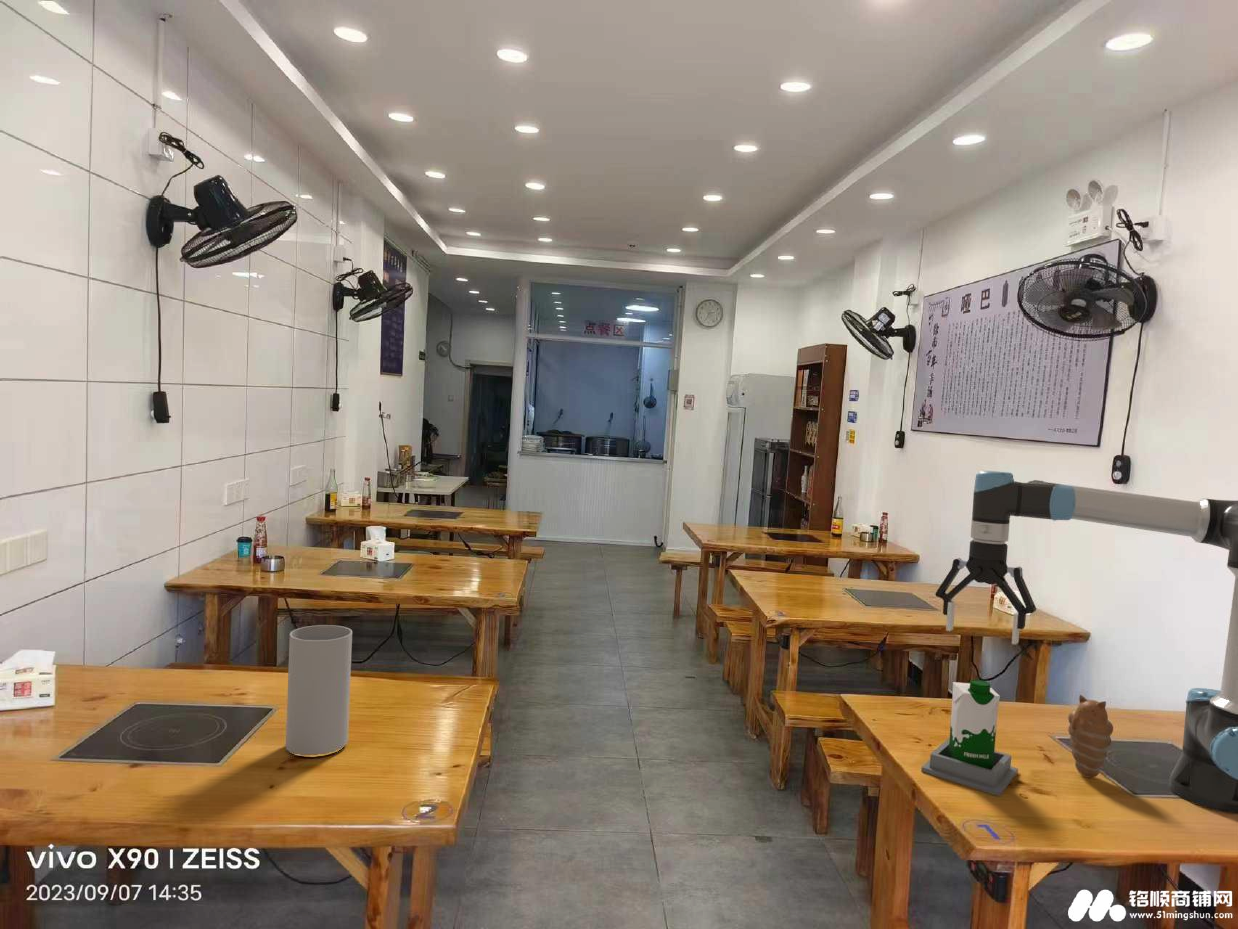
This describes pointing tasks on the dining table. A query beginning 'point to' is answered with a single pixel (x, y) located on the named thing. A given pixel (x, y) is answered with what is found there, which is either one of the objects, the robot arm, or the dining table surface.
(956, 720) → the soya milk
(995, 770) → the dock
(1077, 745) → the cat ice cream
